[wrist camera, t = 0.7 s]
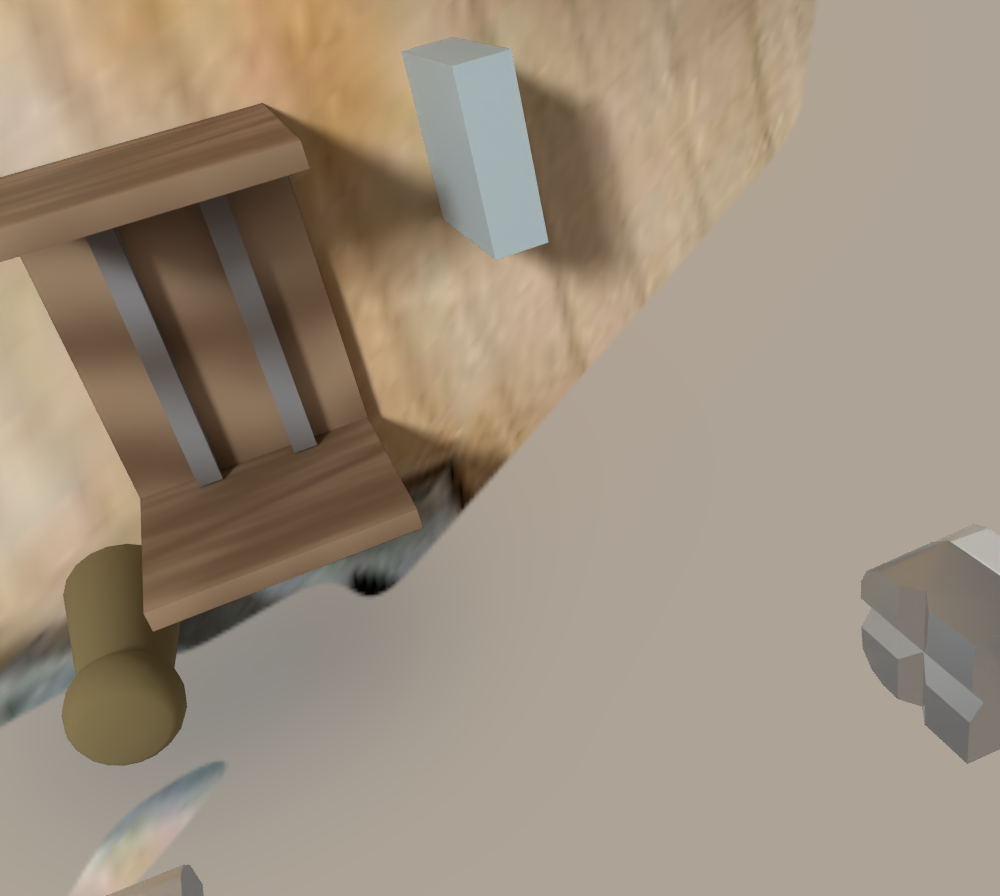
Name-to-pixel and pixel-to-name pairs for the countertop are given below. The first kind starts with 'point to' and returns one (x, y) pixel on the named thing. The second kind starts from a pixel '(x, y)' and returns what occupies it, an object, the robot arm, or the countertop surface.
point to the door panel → (477, 143)
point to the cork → (119, 663)
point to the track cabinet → (209, 355)
